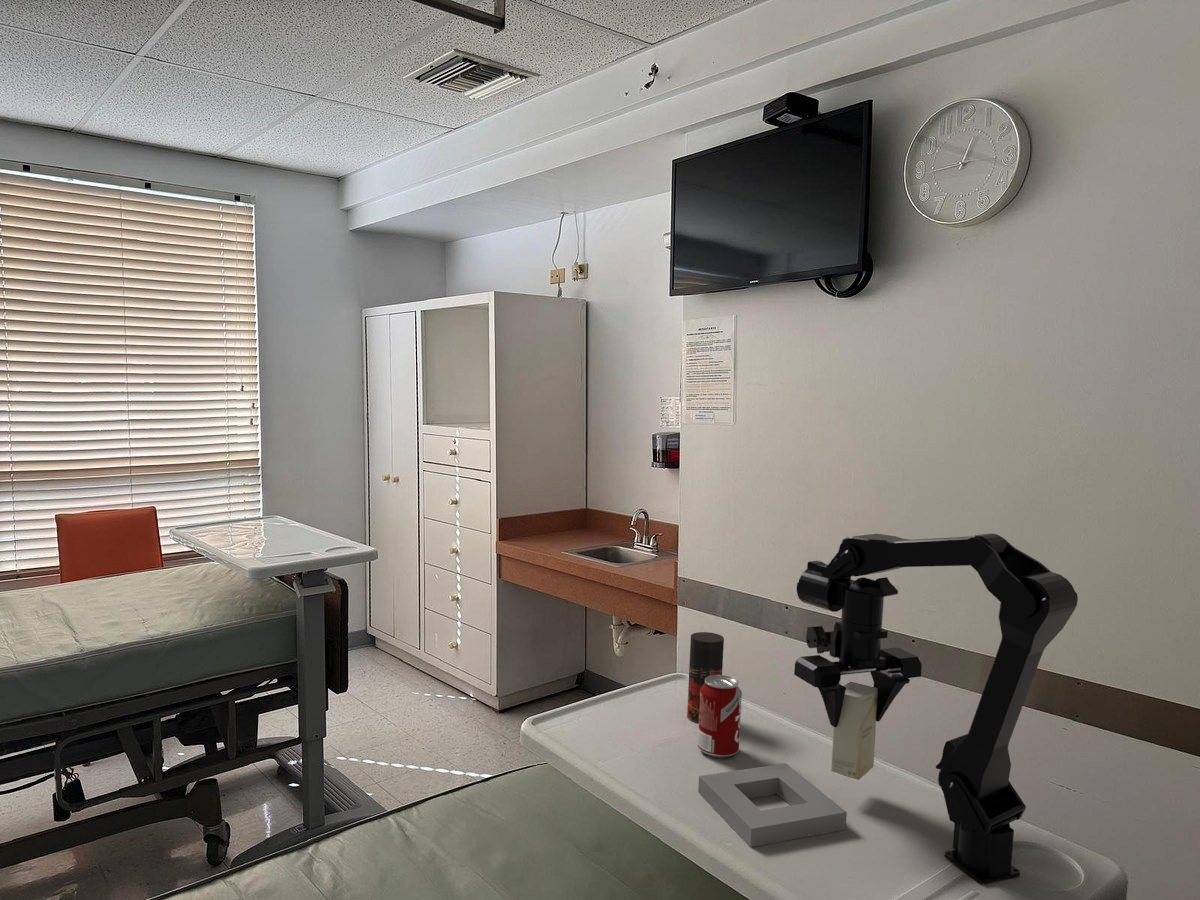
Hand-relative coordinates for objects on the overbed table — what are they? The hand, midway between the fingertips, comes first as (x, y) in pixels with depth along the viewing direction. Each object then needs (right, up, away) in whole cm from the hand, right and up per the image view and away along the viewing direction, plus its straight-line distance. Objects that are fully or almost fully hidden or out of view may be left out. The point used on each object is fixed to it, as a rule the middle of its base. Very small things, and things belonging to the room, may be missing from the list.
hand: (855, 723), depth 121 cm
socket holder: (-14, -11, -4) cm, 18 cm away
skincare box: (0, -7, +1) cm, 7 cm away
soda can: (-18, -10, +15) cm, 25 cm away
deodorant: (-19, -9, +28) cm, 35 cm away
